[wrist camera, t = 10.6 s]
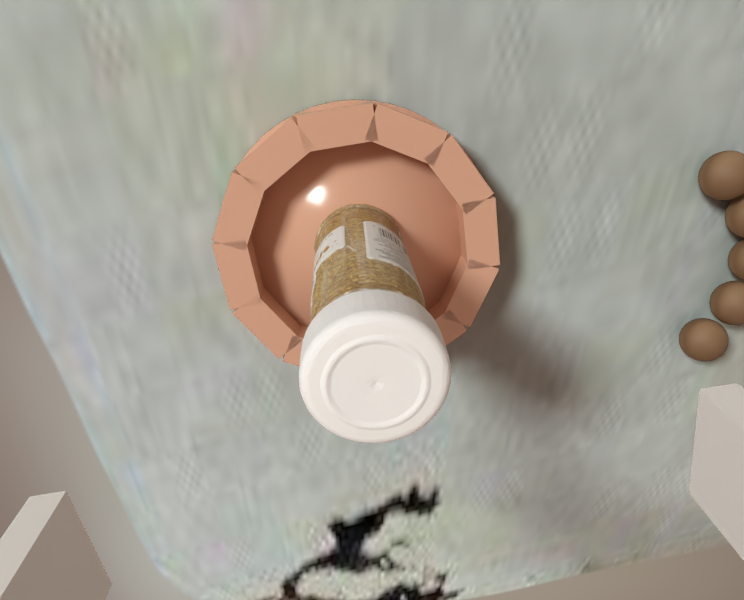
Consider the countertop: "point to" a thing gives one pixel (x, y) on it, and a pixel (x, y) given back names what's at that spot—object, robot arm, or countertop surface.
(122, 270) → the countertop surface
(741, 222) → the bead string
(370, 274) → the sprinkles bottle
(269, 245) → the saucer
